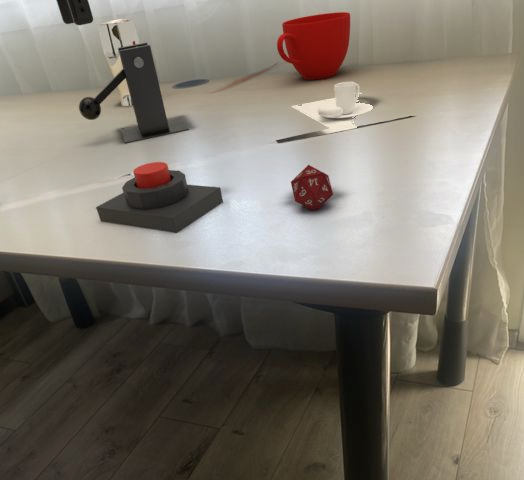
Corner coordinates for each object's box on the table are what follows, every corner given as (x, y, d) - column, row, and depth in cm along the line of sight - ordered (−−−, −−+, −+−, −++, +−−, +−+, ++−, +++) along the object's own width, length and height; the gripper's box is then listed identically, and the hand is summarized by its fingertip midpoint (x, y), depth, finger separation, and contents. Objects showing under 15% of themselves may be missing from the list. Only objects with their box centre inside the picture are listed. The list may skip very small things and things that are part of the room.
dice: (298, 219, 51) (294, 178, 49) (291, 202, 55) (287, 164, 52) (336, 213, 51) (334, 171, 49) (327, 196, 55) (325, 157, 52)
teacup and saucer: (323, 125, 77) (321, 95, 74) (308, 114, 83) (306, 86, 81) (381, 114, 77) (381, 83, 75) (361, 103, 84) (361, 75, 81)
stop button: (130, 189, 56) (125, 172, 55) (153, 177, 58) (149, 161, 57) (156, 191, 54) (151, 174, 53) (178, 179, 56) (174, 162, 55)
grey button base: (100, 221, 58) (90, 190, 56) (149, 194, 63) (141, 165, 61) (177, 233, 52) (168, 199, 50) (223, 202, 58) (217, 170, 56)
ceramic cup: (260, 87, 106) (253, 29, 100) (317, 68, 114) (314, 13, 108) (307, 90, 98) (302, 27, 92) (365, 69, 106) (364, 10, 100)
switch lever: (91, 126, 80) (74, 109, 78) (90, 122, 83) (74, 105, 81) (152, 63, 78) (136, 44, 76) (150, 61, 81) (134, 42, 79)
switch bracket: (126, 150, 81) (100, 56, 73) (123, 137, 88) (98, 50, 80) (190, 136, 82) (171, 42, 75) (181, 124, 89) (163, 37, 82)
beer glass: (154, 101, 109) (134, 16, 100) (154, 108, 103) (133, 18, 94) (120, 108, 108) (97, 22, 100) (119, 115, 103) (94, 25, 94)
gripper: (-15, -136, 60) (41, 28, 70) (-10, -169, 50) (56, 31, 59) (51, -143, 62) (96, 17, 72) (70, -176, 52) (121, 18, 61)
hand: (78, 23), depth 65 cm, fingers open, 8 cm apart
